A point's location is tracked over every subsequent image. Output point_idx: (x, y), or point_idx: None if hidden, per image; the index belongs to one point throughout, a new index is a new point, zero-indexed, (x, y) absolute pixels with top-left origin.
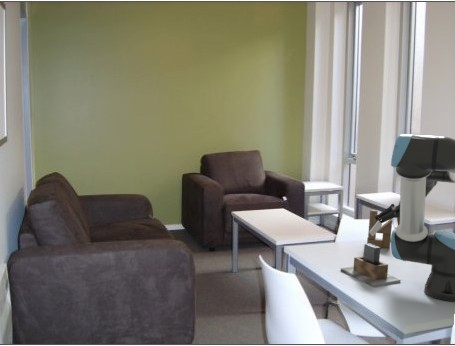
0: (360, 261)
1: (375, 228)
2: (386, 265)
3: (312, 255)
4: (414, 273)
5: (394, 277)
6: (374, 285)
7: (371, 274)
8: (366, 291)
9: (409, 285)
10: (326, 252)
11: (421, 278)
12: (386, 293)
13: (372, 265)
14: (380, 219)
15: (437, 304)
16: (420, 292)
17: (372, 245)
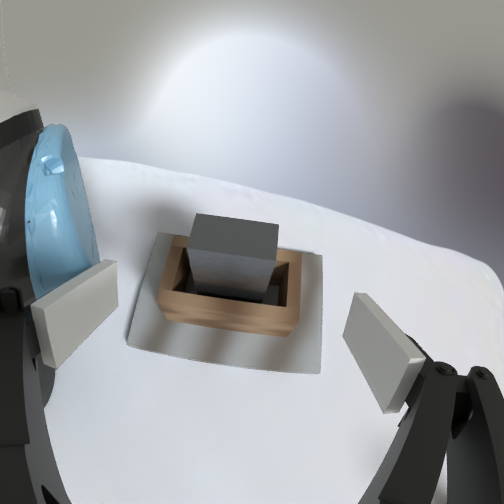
0: None
1: (369, 336)
2: (158, 292)
3: (450, 284)
4: (162, 478)
5: (153, 346)
6: (158, 237)
7: None
8: (155, 200)
9: (96, 344)
10: (465, 342)
11: (113, 447)
12: (112, 230)
13: (189, 237)
14: (425, 382)
15: None
16: None
17: (236, 238)
